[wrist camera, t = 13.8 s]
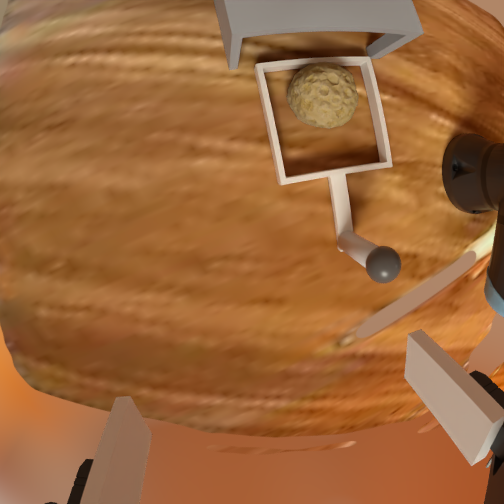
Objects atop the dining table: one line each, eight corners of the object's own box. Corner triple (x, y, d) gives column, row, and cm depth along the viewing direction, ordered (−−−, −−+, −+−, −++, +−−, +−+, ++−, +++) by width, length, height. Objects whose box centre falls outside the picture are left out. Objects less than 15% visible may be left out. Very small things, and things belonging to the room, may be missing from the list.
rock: (344, 102, 45) (370, 62, 36) (337, 152, 42) (368, 111, 33) (289, 81, 45) (307, 36, 35) (273, 129, 41) (293, 80, 32)
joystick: (254, 69, 39) (269, 25, 25) (363, 61, 40) (414, 28, 25) (292, 264, 48) (322, 307, 33) (392, 240, 48) (448, 270, 33)
